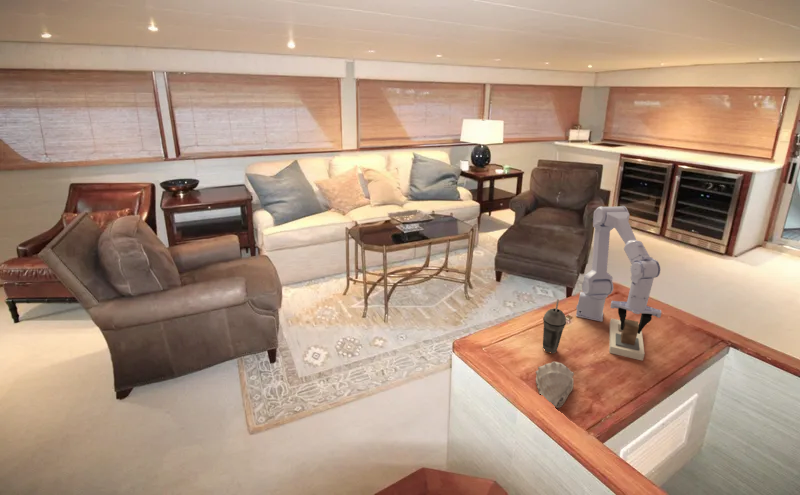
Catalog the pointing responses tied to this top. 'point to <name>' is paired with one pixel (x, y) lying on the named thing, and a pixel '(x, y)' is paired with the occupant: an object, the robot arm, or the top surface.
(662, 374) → the top surface
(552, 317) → the beverage cup
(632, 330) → the walnut block
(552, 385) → the seashell
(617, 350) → the pocket board
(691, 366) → the top surface
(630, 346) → the slate mat
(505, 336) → the top surface
